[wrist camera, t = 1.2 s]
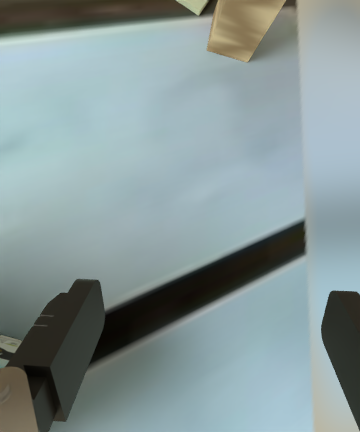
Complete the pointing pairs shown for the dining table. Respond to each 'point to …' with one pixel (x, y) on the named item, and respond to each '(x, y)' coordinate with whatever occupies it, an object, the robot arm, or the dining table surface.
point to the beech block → (241, 26)
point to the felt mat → (194, 5)
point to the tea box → (7, 349)
